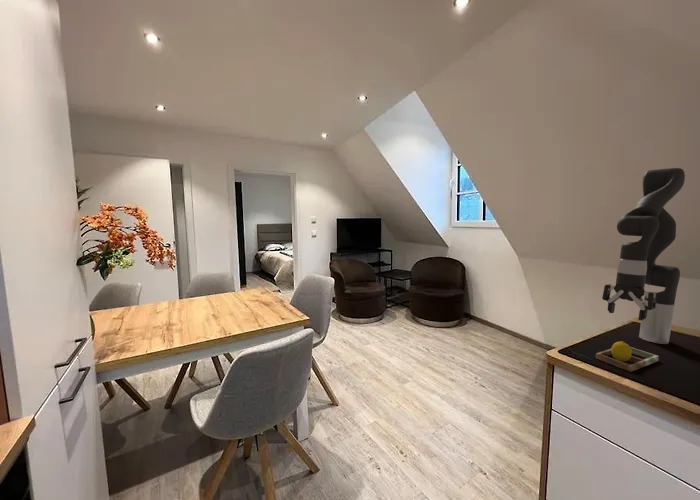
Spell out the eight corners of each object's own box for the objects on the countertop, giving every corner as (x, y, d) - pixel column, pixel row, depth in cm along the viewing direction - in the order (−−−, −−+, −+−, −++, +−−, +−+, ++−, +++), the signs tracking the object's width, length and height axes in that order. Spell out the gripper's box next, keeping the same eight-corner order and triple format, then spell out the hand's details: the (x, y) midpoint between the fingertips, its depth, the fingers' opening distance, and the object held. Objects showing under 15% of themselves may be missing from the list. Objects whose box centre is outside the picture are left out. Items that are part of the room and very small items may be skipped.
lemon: (634, 366, 107) (636, 345, 106) (616, 364, 108) (618, 343, 107) (623, 359, 112) (626, 339, 111) (606, 357, 113) (608, 337, 112)
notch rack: (622, 349, 121) (623, 344, 121) (658, 361, 112) (658, 355, 111) (595, 358, 112) (595, 353, 112) (630, 371, 103) (631, 366, 103)
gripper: (663, 275, 102) (657, 321, 103) (612, 268, 114) (607, 309, 116) (653, 276, 98) (646, 324, 100) (602, 269, 111) (596, 311, 113)
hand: (625, 316), depth 108 cm, fingers open, 8 cm apart
